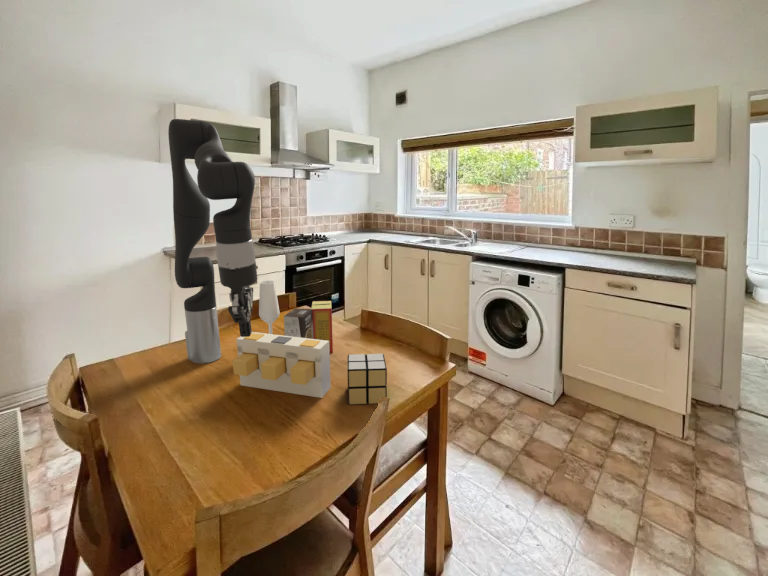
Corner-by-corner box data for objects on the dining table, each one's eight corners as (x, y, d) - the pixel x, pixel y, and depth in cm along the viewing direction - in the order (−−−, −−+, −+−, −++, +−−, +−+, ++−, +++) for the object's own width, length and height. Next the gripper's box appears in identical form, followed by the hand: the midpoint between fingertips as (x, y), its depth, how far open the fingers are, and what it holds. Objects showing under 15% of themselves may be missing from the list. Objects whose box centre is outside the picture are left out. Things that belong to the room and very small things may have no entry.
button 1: (233, 374, 110) (232, 360, 109) (246, 365, 115) (245, 352, 114) (246, 376, 109) (245, 362, 108) (259, 367, 114) (258, 353, 113)
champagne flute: (257, 353, 139) (252, 283, 133) (267, 345, 145) (263, 279, 139) (276, 354, 137) (271, 285, 131) (285, 347, 144) (281, 280, 138)
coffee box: (304, 366, 129) (302, 317, 125) (285, 364, 130) (282, 315, 126) (315, 354, 138) (313, 308, 134) (297, 353, 139) (294, 307, 135)
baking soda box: (332, 352, 139) (331, 307, 135) (313, 353, 139) (311, 308, 135) (332, 342, 148) (331, 299, 145) (314, 343, 148) (312, 300, 144)
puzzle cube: (348, 387, 116) (347, 354, 114) (383, 385, 117) (383, 353, 114) (348, 405, 106) (347, 369, 104) (386, 404, 107) (387, 368, 105)
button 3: (291, 382, 105) (290, 368, 104) (301, 373, 111) (300, 359, 110) (305, 384, 104) (304, 370, 103) (315, 375, 110) (314, 361, 109)
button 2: (261, 378, 108) (260, 364, 107) (273, 369, 113) (272, 355, 112) (275, 380, 107) (274, 366, 106) (286, 371, 112) (285, 357, 111)
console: (240, 385, 117) (236, 337, 113) (252, 376, 122) (249, 330, 119) (321, 397, 110) (319, 347, 106) (330, 387, 116) (329, 339, 112)
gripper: (226, 253, 92) (236, 323, 98) (208, 271, 80) (220, 350, 86) (260, 252, 93) (268, 322, 99) (248, 270, 81) (257, 348, 87)
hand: (246, 335), depth 92 cm, fingers closed
